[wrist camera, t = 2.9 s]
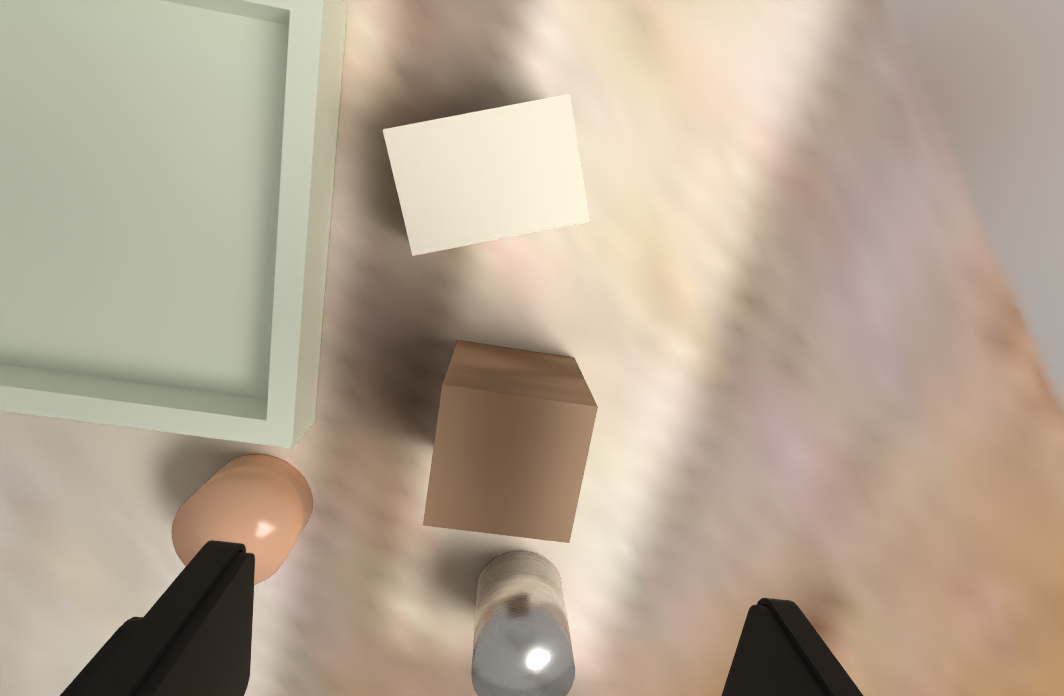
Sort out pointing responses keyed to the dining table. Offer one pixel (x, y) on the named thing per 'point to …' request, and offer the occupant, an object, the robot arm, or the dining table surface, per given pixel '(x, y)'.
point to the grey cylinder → (521, 629)
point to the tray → (167, 211)
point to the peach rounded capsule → (247, 511)
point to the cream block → (488, 174)
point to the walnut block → (510, 443)
